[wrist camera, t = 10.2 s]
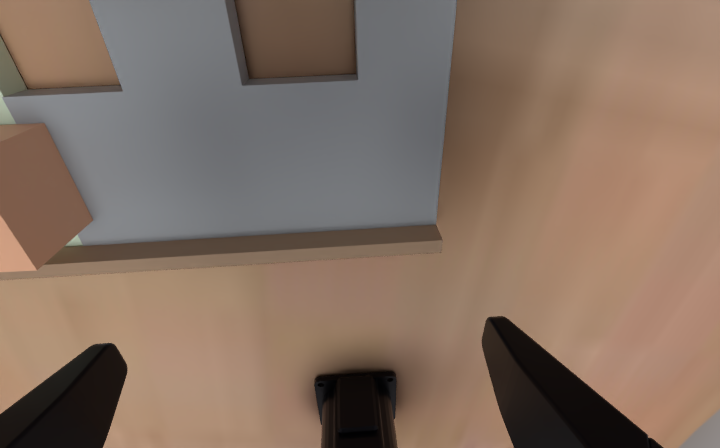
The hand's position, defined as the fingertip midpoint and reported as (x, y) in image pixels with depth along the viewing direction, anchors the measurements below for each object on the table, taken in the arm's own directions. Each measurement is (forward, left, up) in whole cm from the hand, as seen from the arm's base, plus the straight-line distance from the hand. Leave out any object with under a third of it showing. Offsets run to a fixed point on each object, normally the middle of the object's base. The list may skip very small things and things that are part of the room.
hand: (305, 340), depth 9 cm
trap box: (+2, +7, -12) cm, 14 cm away
